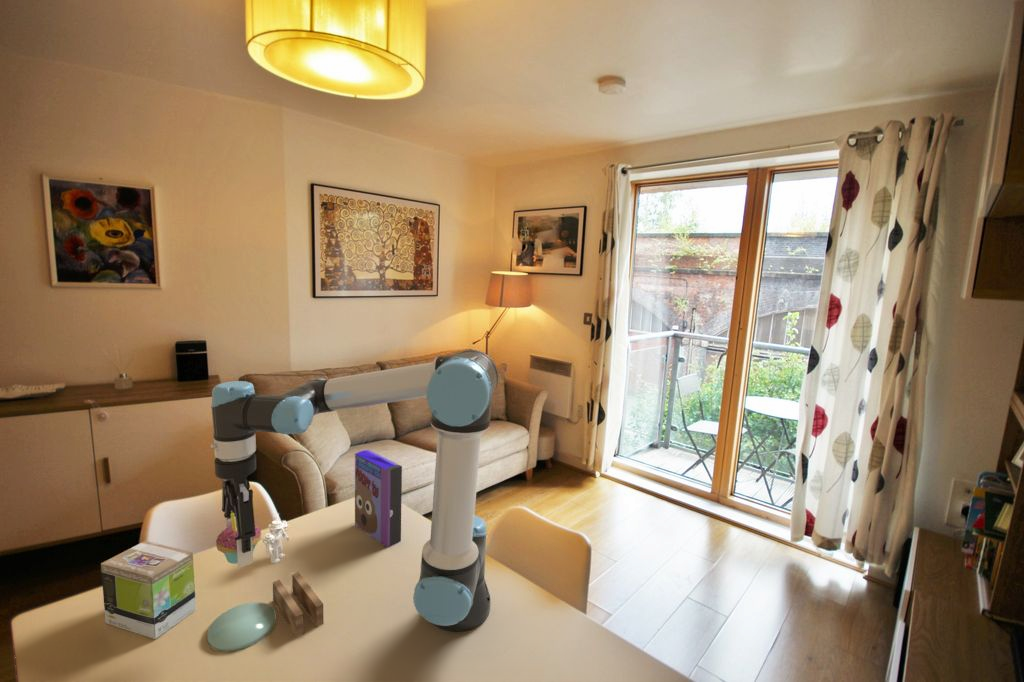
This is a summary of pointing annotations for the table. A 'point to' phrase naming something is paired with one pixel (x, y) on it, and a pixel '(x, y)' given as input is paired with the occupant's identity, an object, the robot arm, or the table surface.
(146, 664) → the table surface
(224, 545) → the cupcake
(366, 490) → the cereal box
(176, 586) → the tea box
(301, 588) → the brown flat block
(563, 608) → the table surface
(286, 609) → the rail
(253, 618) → the plate
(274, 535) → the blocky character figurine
